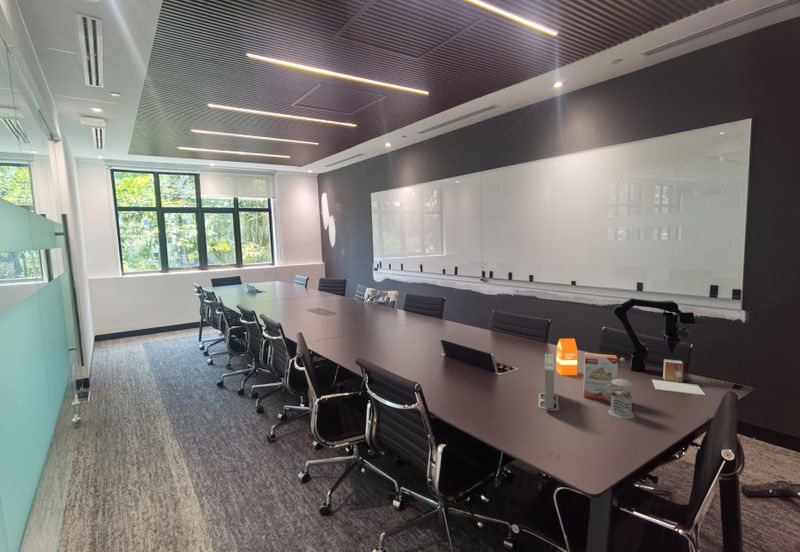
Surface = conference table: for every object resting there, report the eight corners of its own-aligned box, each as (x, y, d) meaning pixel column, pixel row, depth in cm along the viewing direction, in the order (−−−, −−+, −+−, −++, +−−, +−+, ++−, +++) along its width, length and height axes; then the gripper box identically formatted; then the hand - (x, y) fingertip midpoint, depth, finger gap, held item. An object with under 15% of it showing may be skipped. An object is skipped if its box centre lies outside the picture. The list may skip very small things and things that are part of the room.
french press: (633, 420, 164) (635, 362, 162) (602, 414, 170) (603, 358, 168) (634, 411, 172) (635, 356, 170) (604, 406, 178) (605, 352, 176)
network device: (559, 414, 171) (559, 370, 169) (538, 411, 174) (538, 368, 172) (557, 393, 195) (557, 353, 193) (538, 391, 198) (539, 352, 196)
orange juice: (577, 375, 220) (577, 340, 218) (561, 375, 220) (561, 340, 218) (571, 370, 228) (571, 336, 226) (556, 370, 228) (556, 337, 226)
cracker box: (583, 397, 188) (584, 355, 186) (583, 393, 194) (583, 352, 192) (616, 401, 183) (617, 358, 181) (614, 396, 188) (616, 354, 187)
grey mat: (656, 389, 196) (656, 388, 196) (651, 380, 209) (651, 379, 209) (705, 395, 187) (705, 394, 187) (697, 385, 200) (697, 384, 200)
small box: (664, 380, 208) (664, 361, 207) (662, 377, 213) (663, 358, 212) (682, 383, 204) (683, 363, 204) (680, 379, 209) (681, 360, 208)
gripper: (692, 327, 205) (691, 357, 206) (685, 321, 221) (684, 348, 222) (666, 326, 210) (666, 355, 211) (662, 320, 226) (661, 346, 227)
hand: (670, 351), depth 218 cm, fingers open, 9 cm apart
